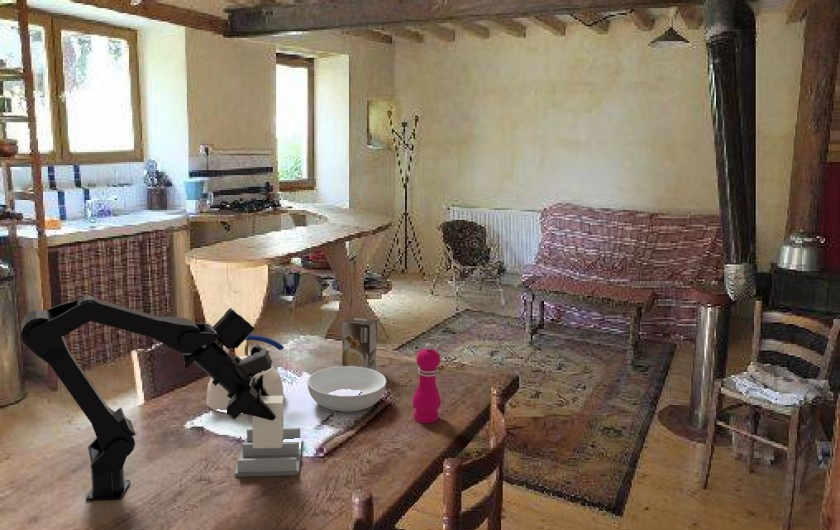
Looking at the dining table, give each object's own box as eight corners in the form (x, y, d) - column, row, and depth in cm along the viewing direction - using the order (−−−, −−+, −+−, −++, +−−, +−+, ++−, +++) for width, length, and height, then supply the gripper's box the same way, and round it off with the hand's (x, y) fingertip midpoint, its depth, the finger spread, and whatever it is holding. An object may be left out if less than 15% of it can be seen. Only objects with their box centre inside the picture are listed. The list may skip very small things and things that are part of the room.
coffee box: (377, 370, 199) (378, 319, 196) (369, 377, 193) (370, 325, 190) (349, 366, 202) (350, 316, 199) (341, 372, 196) (341, 321, 193)
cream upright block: (281, 447, 137) (281, 403, 135) (252, 448, 136) (252, 403, 135) (283, 439, 141) (283, 395, 139) (255, 439, 140) (254, 395, 138)
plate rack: (298, 474, 137) (298, 459, 136) (234, 476, 135) (234, 461, 134) (302, 441, 152) (302, 427, 151) (245, 442, 150) (245, 428, 149)
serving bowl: (294, 414, 166) (294, 389, 165) (325, 385, 186) (325, 362, 185) (371, 425, 161) (372, 399, 160) (395, 394, 181) (395, 371, 180)
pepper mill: (406, 420, 165) (409, 344, 161) (420, 410, 171) (422, 337, 167) (432, 426, 162) (435, 350, 158) (444, 416, 168) (448, 342, 164)
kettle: (202, 389, 180) (200, 326, 176) (278, 382, 187) (278, 321, 184) (206, 419, 161) (204, 350, 158) (290, 410, 169) (290, 343, 165)
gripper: (243, 353, 125) (301, 406, 129) (252, 325, 143) (303, 372, 147) (201, 393, 125) (260, 444, 129) (215, 360, 143) (267, 406, 147)
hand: (274, 414), depth 138 cm, fingers closed on cream upright block, 4 cm apart
